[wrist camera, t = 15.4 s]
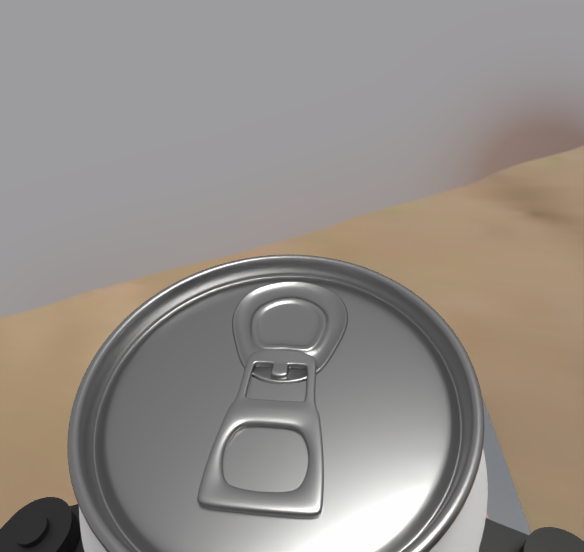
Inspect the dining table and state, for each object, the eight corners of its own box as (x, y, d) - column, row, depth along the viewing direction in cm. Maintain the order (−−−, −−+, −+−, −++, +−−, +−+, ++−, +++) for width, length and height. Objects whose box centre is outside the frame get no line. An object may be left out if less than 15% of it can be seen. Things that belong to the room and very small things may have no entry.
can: (396, 509, 16) (464, 244, 8) (417, 777, 11) (640, 738, 3) (226, 493, 16) (143, 237, 9) (172, 737, 12) (-118, 629, 4)
